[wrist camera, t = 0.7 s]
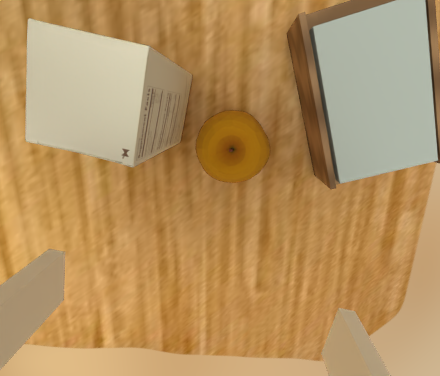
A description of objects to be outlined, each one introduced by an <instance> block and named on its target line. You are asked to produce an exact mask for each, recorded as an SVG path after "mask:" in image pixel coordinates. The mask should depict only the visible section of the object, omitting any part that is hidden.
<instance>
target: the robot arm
mask: <svg viewBox="0 0 440 376" xmlns="http://www.w3.org/2000/svg"><path fill="white" fill-rule="evenodd" d="M64 276H65V252H63V251H58V250H53V249H48V250H47V251H46V252H44V253H43V254H42V255H40V256H39V257H38V258H36V259H35V260H34V261H32V262H31V263H30V264H28V265H27V266H26V267H24V268H23V269H22V270H20V271H19V272H18V273H16V274H15V275H14V276H12V277H11V278H10V279H8V280H7V281H6V282H4V283H3V284H2V285H0V370H1V369H2V367H3V366H4V365H5V364H6V363H7V362H8V361H9V360H10V359H11V358H12V356H13V355H14V354H15V353H16V352H17V351H18V350H19V349H20V348H21V346H22V345H23V344H24V343H25V342H26V341H27V340H28V339H29V338H30V337H31V336H32V334H33V333H34V332H35V331H36V330H37V329H38V328H39V327H40V326H41V325H42V323H43V322H44V321H45V320H46V319H47V318H48V317H49V316H50V315H51V314H52V312H53V311H54V310H55V309H56V308H57V307H58V306H59V305H60V304H61V302H62V301H63V300H64ZM322 356H323V359H324V362H325V365H326V368H327V371H328V374H329V376H391V375H390V373H389V371H388V369H387V368H386V366H385V364H384V362H383V361H382V359H381V357H380V355H379V353H378V352H377V350H376V348H375V346H374V345H373V343H372V341H371V339H370V337H369V336H368V334H367V332H366V330H365V329H364V327H363V325H362V323H361V321H360V320H359V318H358V316H357V314H356V313H355V311H351V310H346V309H341V308H338V311H337V313H336V316H335V319H334V321H333V324H332V327H331V329H330V332H329V335H328V337H327V340H326V343H325V345H324V348H323V350H322Z"/></svg>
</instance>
